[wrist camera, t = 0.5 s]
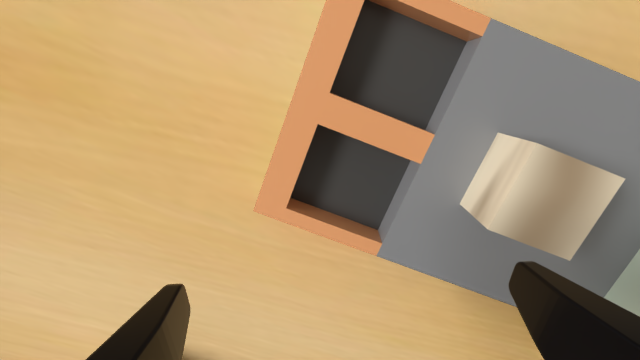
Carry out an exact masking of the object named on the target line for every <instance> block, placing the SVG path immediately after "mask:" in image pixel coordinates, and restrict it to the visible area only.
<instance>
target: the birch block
mask: <svg viewBox="0 0 640 360" xmlns="http://www.w3.org/2000/svg"><path fill="white" fill-rule="evenodd" d="M624 180H625V178H623V177H620V176H618V175H615V174H613V173H610V172H608V171H605V170H603V169H600V168H598V167H595V166H593V165H590V164H588V163H585V162H583V161H580V160H578V159H575V158H573V157H571V156H568V155H566V154H563V153H561V152H558V151H556V150H553V149H551V148H548V147H546V146H543V145H541V144H538V143H535V142H531V141H528V140H524V139H520V138H517V137H513V136H509V135H505V134H502V133H497V135H496V137H495V139H494V141H493V143H492V144H491V146H490V148H489V150H488V152H487V154H486V156H485V157H484V159H483V161H482V163H481V165H480V167H479V169H478V170H477V172H476V174H475V176H474V178H473V180H472V182H471V183H470V185H469V187H468V189H467V191H466V193H465V195H464V197H463V198H462V200H461V202H460V205H461V206H462V207H464V208H465V209H466V210H467V211H468V212H469V213H470V214H471V215H472V216H473V217H475V218H476V219H477V220H478V221H479V222H480V223H481V224H482V225H483V226H484V227H486V228H487V229H488V230H490V231H493V232H496V233H498V234H501V235H503V236H506V237H509V238H511V239H514V240H517V241H519V242H522V243H525V244H527V245H530V246H532V247H535V248H538V249H540V250H543V251H546V252H548V253H551V254H554V255H556V256H559V257H561V258H564V259H567V260H569V261H570V260H571V259H572V257H573V256H574V254H575V253H576V251H577V250H578V248H579V247H580V245H581V244H582V242H583V241H584V239H585V238H586V236H587V235H588V234H589V232H590V231H591V229H592V228H593V226H594V225H595V223H596V222H597V220H598V219H599V217H600V216H601V214H602V213H603V211H604V210H605V208H606V207H607V205H608V204H609V203H610V201H611V200H612V198H613V197H614V195H615V194H616V192H617V191H618V189H619V188H620V186H621V185H622V183H623V182H624Z"/></svg>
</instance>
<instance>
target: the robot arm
mask: <svg viewBox="0 0 640 360" xmlns="http://www.w3.org/2000/svg"><path fill="white" fill-rule="evenodd" d="M508 286H509V291H510V294H511V296H512V298H513V300H514V302H515V304H516V306H517V308H518V310H519V312H520V314H521V316H522V318H523V320H524V322H525V324H526V326H527V329H528V331H529V333H530V335H531V337H532V339H533V341H534V342H535V344H536V346H537V348H538V350H539V351H540V353H541V355H542V356H543V358H544V360H640V316H638V315H636V314H634V313H632V312H630V311H628V310H626V309H624V308H622V307H620V306H619V305H617V304H615V303H613V302H611V301H609V300H607V299H605V298H603V297H601V296H599V295H598V294H596V293H594V292H592V291H590V290H588V289H586V288H584V287H582V286H580V285H578V284H576V283H575V282H573V281H571V280H569V279H567V278H565V277H563V276H561V275H559V274H557V273H555V272H554V271H552V270H550V269H548V268H546V267H544V266H542V265H540V264H538V263H536V262H534V261H520V262H517V263H516V264H515V266H514V269H513V272H512V275H511V278H510V280H509V285H508ZM189 317H190V304H189V300H188V297H187V293H186V289H185V287H184V285H183V284H168V285H166V286H164V287H163V288H162V289H161V290H160V291H159V292H158V293H157V294H156V295H155V296H153V297H152V298H151V299H150V300H149V301H148V302H147V303H146V304H145V305H144V306H143V307H142V308H141V309H140V310H138V311H137V312H136V313H135V314H134V315H133V316H132V317H131V318H130V319H129V320H128V321H127V322H126V323H125V324H123V325H122V326H121V327H120V328H119V329H118V330H117V331H116V332H115V333H114V334H113V335H112V336H111V337H109V338H108V339H107V340H106V341H105V342H104V343H103V344H102V345H101V346H100V347H99V348H98V349H97V350H96V351H94V352H93V353H92V354H91V355H90V356H89V357H88V358H87V359H86V360H182V355H183V350H184V344H185V339H186V334H187V328H188V323H189Z"/></svg>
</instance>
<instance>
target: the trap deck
mask: <svg viewBox="0 0 640 360" xmlns="http://www.w3.org/2000/svg"><path fill="white" fill-rule="evenodd" d="M497 133H502V134H505V135H509V136H513V137H517V138H520V139H524V140H528V141H531V142H535V143H538V144H541V145H543V146H546V147H548V148H551V149H553V150H556V151H558V152H561V153H563V154H566V155H568V156H571V157H573V158H575V159H578V160H580V161H583V162H585V163H588V164H590V165H593V166H595V167H598V168H600V169H603V170H605V171H608V172H610V173H613V174H615V175H618V176H620V177H623V178H625V180H624V182H623V183H622V185H621V186H620V188H619V189H618V191H617V192H616V194H615V195H614V197H613V198H612V200H611V201H610V203H609V204H608V205H607V207H606V208H605V210H604V211H603V213H602V214H601V216H600V217H599V219H598V220H597V222H596V223H595V225H594V226H593V228H592V229H591V231H590V232H589V234H588V235H587V236H586V238H585V239H584V241H583V242H582V244H581V245H580V247H579V248H578V250H577V251H576V253H575V254H574V256H573V257H572V259H571V260H570V261H569V260H567V259H564V258H561V257H559V256H556V255H554V254H551V253H548V252H546V251H543V250H540V249H538V248H535V247H532V246H530V245H527V244H525V243H522V242H519V241H517V240H514V239H511V238H509V237H506V236H503V235H501V234H498V233H496V232H493V231H490V230H488V229H487V228H486V227H484V226H483V225H482V224H481V223H480V222H479V221H478V220H477V219H476V218H475V217H473V216H472V215H471V214H470V213H469V212H468V211H467V210H466V209H465V208H464V207H462V206H461V205H460V202H461V200H462V198H463V197H464V195H465V193H466V191H467V189H468V187H469V185H470V183H471V182H472V180H473V178H474V176H475V174H476V172H477V170H478V169H479V167H480V165H481V163H482V161H483V159H484V157H485V156H486V154H487V152H488V150H489V148H490V146H491V144H492V143H493V141H494V139H495V137H496V135H497ZM253 211H255V212H257V213H260V214H263V215H266V216H268V217H271V218H274V219H277V220H279V221H282V222H285V223H288V224H290V225H293V226H296V227H299V228H301V229H304V230H307V231H309V232H312V233H315V234H318V235H320V236H323V237H326V238H329V239H331V240H334V241H337V242H340V243H342V244H345V245H348V246H351V247H353V248H356V249H359V250H362V251H364V252H367V253H370V254H373V255H375V256H378V257H381V258H384V259H386V260H389V261H392V262H395V263H397V264H400V265H403V266H406V267H408V268H411V269H414V270H416V271H419V272H422V273H425V274H427V275H430V276H433V277H436V278H438V279H441V280H444V281H447V282H449V283H452V284H455V285H458V286H460V287H463V288H466V289H469V290H471V291H474V292H477V293H480V294H482V295H485V296H488V297H491V298H493V299H496V300H499V301H502V302H504V303H507V304H510V305H512V306H515V307H517V306H516V304H515V302H514V300H513V298H512V296H511V294H510V291H509V286H508V285H509V280H510V278H511V275H512V272H513V269H514V266H515V264H516V263H517V262H520V261H534V262H536V263H538V264H540V265H542V266H544V267H546V268H548V269H550V270H552V271H554V272H555V273H557V274H559V275H561V276H563V277H565V278H567V279H569V280H571V281H573V282H575V283H576V284H578V285H580V286H582V287H584V288H586V289H588V290H590V291H592V292H594V293H596V294H598V295H599V296H601V297H603V298H605V299H607V300H609V301H611V302H613V303H615V304H617V305H619V306H620V307H622V308H624V309H626V310H628V311H630V312H632V313H634V314H636V315H638V316H640V82H639V81H637V80H634V79H632V78H630V77H627V76H625V75H623V74H620V73H618V72H616V71H613V70H611V69H609V68H606V67H604V66H602V65H599V64H597V63H594V62H592V61H590V60H587V59H585V58H583V57H580V56H578V55H576V54H573V53H571V52H569V51H566V50H564V49H562V48H559V47H557V46H555V45H552V44H550V43H548V42H545V41H543V40H541V39H538V38H536V37H534V36H531V35H529V34H527V33H524V32H522V31H520V30H517V29H515V28H513V27H510V26H508V25H506V24H503V23H501V22H499V21H496V20H494V19H492V18H489V17H487V16H485V15H482V14H480V13H478V12H475V11H473V10H471V9H468V8H466V7H464V6H461V5H459V4H457V3H454V2H452V1H450V0H326V2H325V5H324V8H323V11H322V14H321V17H320V20H319V23H318V26H317V28H316V31H315V34H314V37H313V40H312V43H311V46H310V49H309V52H308V54H307V57H306V60H305V63H304V66H303V69H302V72H301V75H300V78H299V80H298V83H297V86H296V89H295V92H294V95H293V98H292V101H291V104H290V106H289V109H288V112H287V115H286V118H285V121H284V124H283V127H282V130H281V132H280V135H279V138H278V141H277V144H276V147H275V150H274V153H273V156H272V158H271V161H270V164H269V167H268V170H267V173H266V176H265V179H264V181H263V184H262V187H261V190H260V193H259V196H258V199H257V202H256V205H255V207H254V210H253Z"/></svg>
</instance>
